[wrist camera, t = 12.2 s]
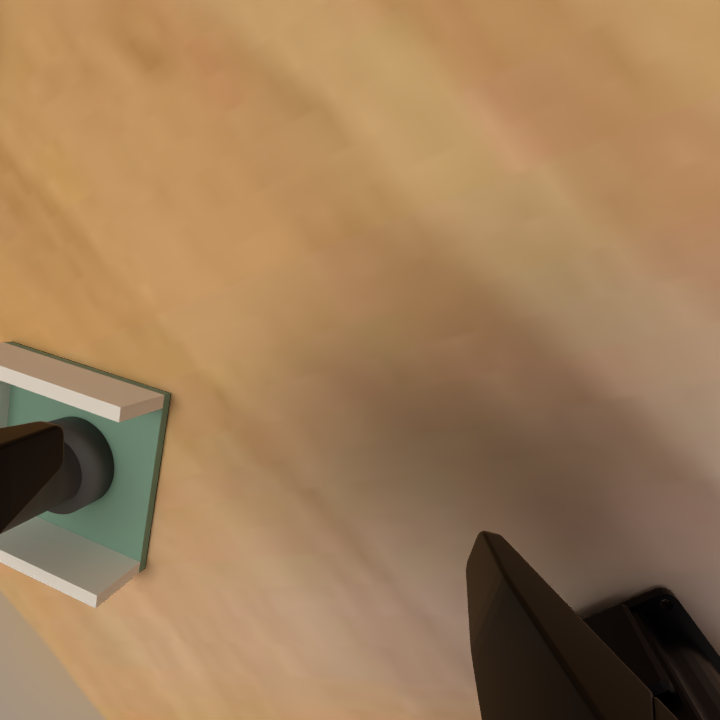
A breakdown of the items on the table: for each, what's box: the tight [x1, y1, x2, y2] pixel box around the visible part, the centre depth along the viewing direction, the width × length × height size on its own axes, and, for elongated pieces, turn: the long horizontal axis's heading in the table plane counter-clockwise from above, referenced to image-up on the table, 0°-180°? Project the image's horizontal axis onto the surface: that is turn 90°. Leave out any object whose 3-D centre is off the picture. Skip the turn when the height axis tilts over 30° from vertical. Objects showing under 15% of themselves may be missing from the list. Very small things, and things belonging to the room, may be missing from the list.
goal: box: [0, 342, 171, 608], centre depth 24 cm, size 12×12×4 cm
